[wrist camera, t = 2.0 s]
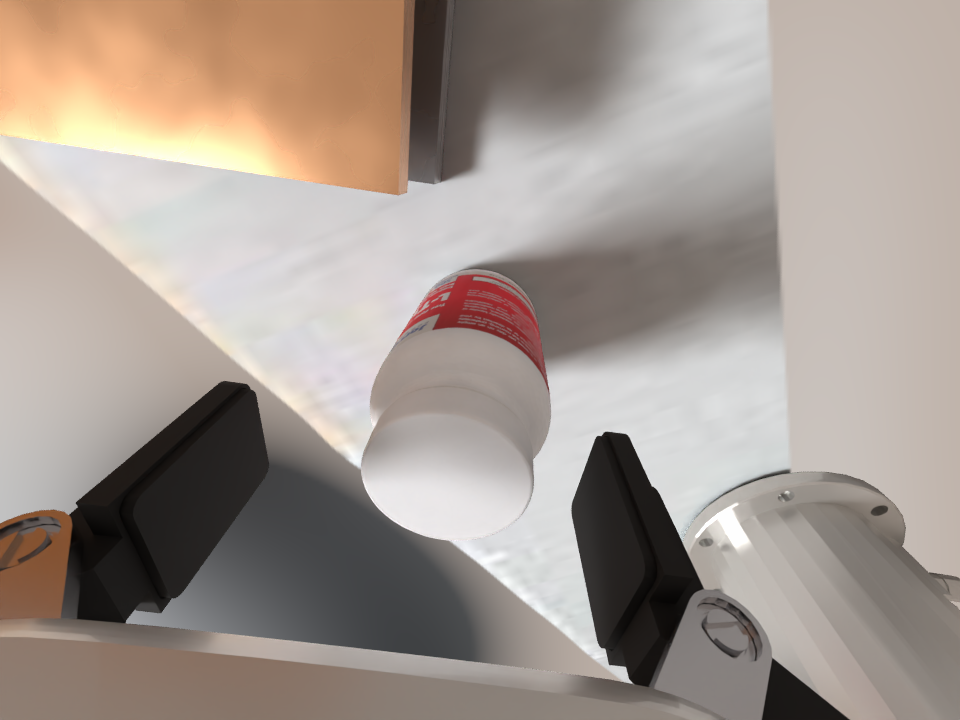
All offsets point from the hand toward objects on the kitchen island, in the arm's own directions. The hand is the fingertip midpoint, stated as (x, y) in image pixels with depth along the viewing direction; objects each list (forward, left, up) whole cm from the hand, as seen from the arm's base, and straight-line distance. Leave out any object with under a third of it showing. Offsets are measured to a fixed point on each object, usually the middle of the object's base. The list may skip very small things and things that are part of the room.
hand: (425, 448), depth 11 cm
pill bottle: (-1, 0, -11) cm, 10 cm away
